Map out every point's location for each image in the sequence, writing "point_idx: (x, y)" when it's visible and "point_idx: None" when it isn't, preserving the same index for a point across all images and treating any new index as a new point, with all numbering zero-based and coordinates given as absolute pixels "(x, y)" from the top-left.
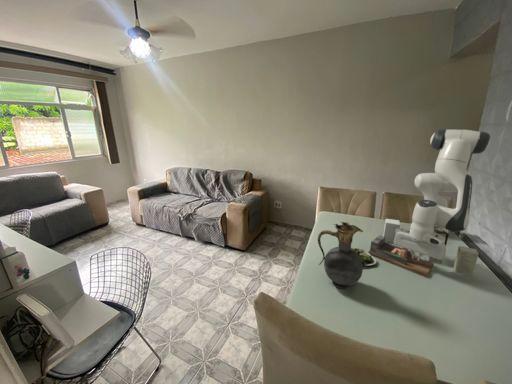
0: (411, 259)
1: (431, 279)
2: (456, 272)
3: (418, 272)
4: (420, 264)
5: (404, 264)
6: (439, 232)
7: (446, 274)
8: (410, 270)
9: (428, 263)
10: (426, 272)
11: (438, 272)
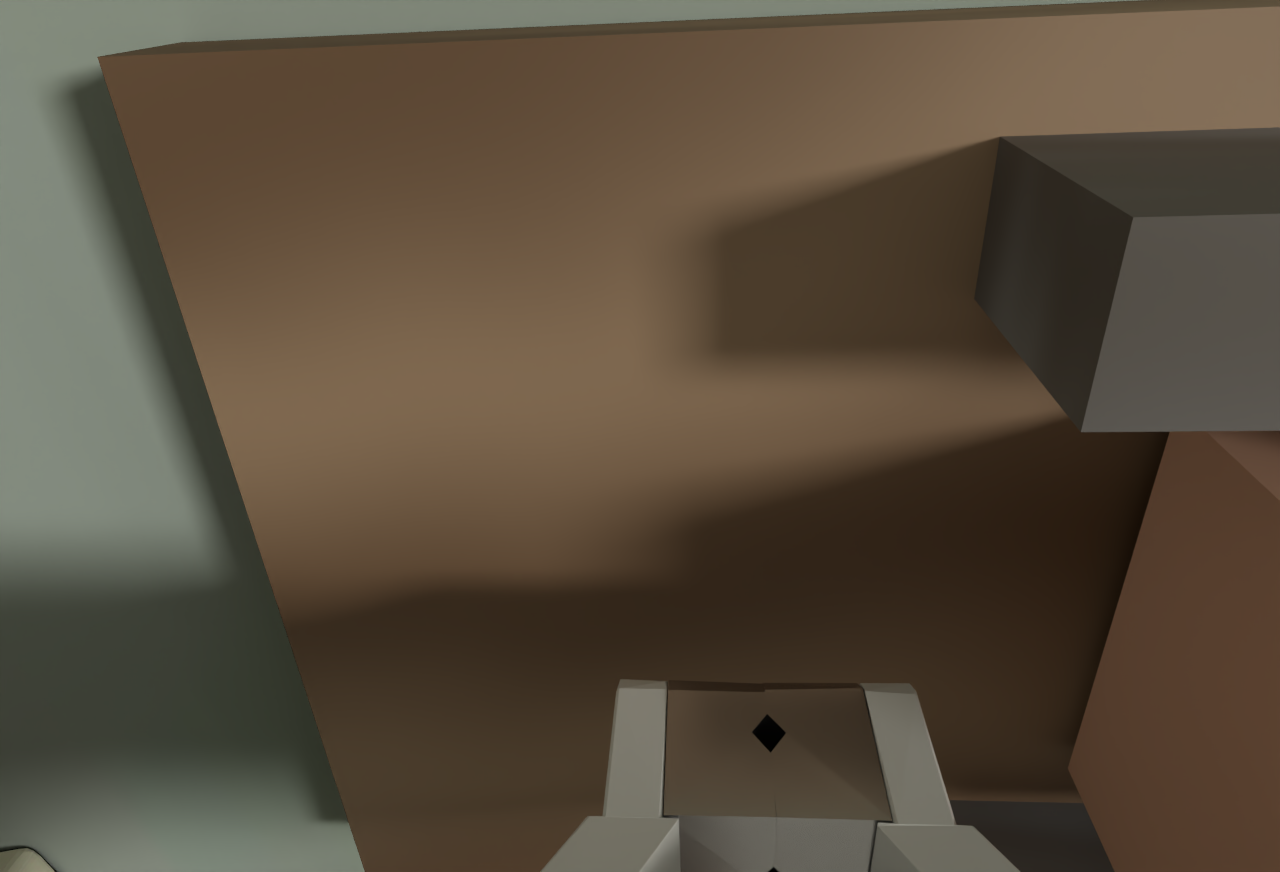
0: None
1: (25, 76)
2: (2, 855)
3: (422, 39)
4: (582, 627)
5: (1076, 135)
6: None
7: (44, 670)
8: (740, 24)
9: (455, 810)
10: (203, 247)
11: (183, 632)
